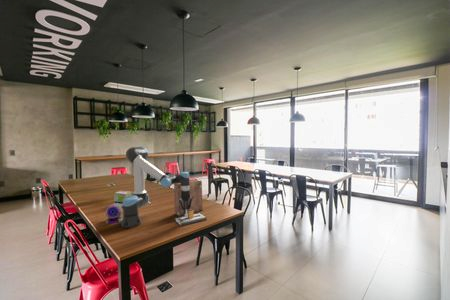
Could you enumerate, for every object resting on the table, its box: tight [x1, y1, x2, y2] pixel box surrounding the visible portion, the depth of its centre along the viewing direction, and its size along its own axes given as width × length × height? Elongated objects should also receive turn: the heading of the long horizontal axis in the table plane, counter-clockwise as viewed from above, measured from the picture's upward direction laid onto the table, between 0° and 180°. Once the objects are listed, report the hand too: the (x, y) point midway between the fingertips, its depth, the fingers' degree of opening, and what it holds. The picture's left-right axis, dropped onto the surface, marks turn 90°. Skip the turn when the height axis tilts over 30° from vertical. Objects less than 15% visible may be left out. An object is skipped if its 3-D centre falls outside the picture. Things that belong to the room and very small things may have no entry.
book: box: [173, 178, 203, 217], centre depth 208 cm, size 25×9×30 cm, turn 130°
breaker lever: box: [187, 209, 194, 219], centre depth 188 cm, size 4×4×7 cm
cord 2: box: [180, 217, 207, 227], centre depth 182 cm, size 2×23×2 cm, turn 123°
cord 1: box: [173, 212, 199, 221], centre depth 196 cm, size 2×23×2 cm, turn 123°
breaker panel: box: [175, 212, 206, 226], centre depth 188 cm, size 11×23×2 cm, turn 123°
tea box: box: [113, 190, 133, 208], centre depth 233 cm, size 15×10×15 cm, turn 73°
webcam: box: [105, 203, 123, 224], centre depth 189 cm, size 13×13×15 cm
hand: (186, 216), depth 186 cm, fingers closed
